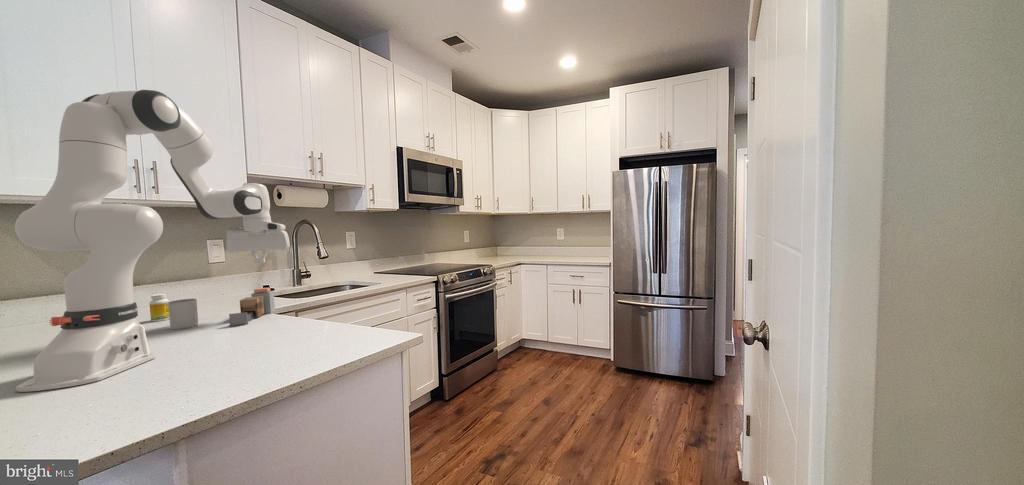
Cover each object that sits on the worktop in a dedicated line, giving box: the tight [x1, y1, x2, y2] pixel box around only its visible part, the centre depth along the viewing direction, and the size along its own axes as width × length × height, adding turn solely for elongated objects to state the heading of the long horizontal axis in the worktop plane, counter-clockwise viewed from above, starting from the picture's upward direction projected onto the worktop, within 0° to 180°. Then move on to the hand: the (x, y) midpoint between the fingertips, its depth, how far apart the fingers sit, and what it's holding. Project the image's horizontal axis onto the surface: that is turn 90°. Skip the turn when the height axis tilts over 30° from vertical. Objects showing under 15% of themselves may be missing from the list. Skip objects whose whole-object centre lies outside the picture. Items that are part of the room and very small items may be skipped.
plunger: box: [253, 287, 271, 293], centre depth 144 cm, size 3×4×5 cm
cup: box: [168, 298, 199, 330], centre depth 128 cm, size 7×10×9 cm
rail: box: [228, 310, 257, 327], centre depth 133 cm, size 16×5×4 cm, turn 16°
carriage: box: [239, 296, 265, 318], centre depth 137 cm, size 6×5×7 cm
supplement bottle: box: [149, 293, 170, 323], centre depth 139 cm, size 5×5×10 cm
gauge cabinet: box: [250, 290, 276, 315], centre depth 144 cm, size 4×6×8 cm
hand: (260, 262), depth 143 cm, fingers closed
